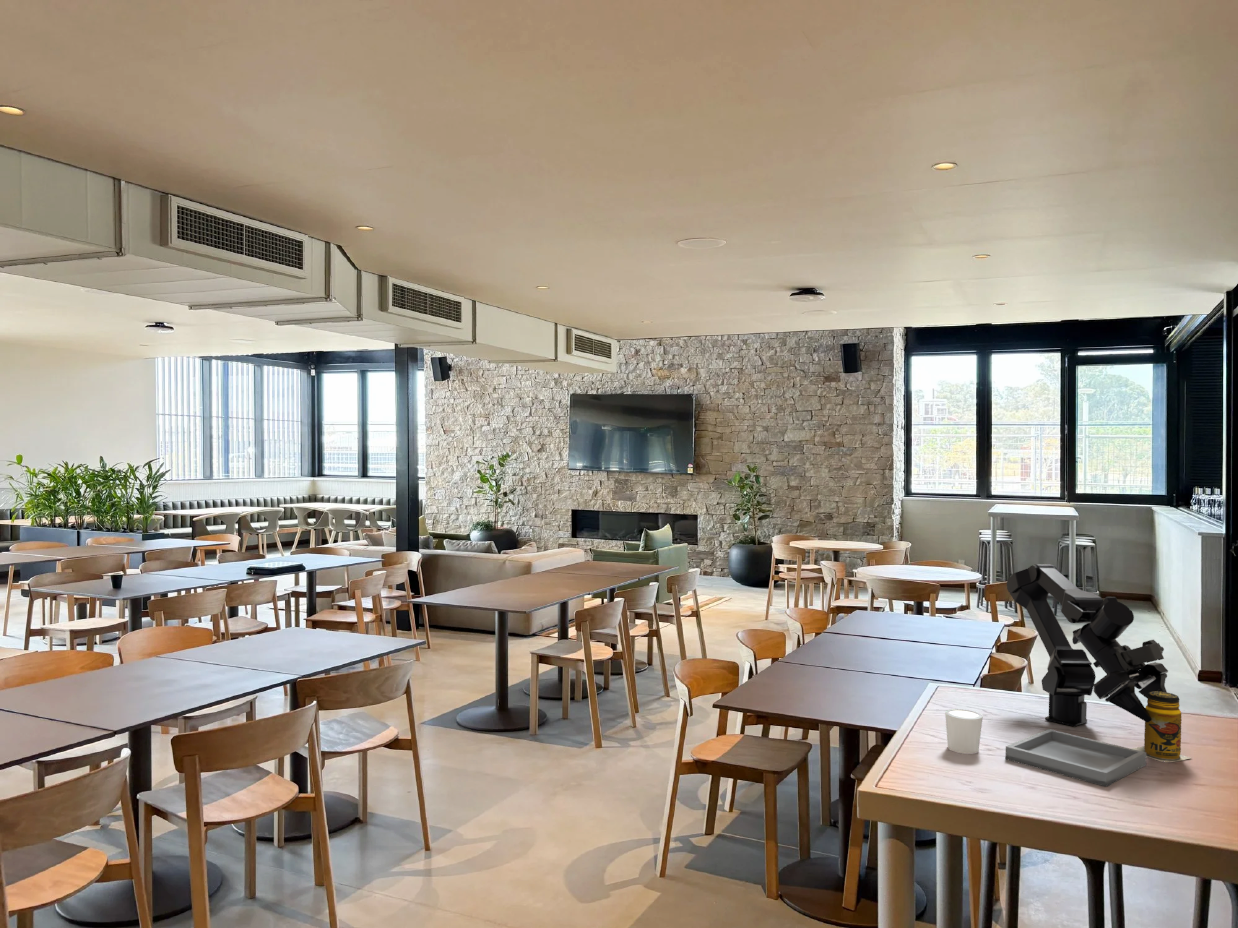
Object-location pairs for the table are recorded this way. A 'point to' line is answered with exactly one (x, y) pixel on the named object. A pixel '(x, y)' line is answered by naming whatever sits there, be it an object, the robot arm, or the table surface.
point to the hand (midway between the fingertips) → (1161, 717)
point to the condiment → (1163, 728)
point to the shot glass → (963, 730)
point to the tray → (1076, 757)
